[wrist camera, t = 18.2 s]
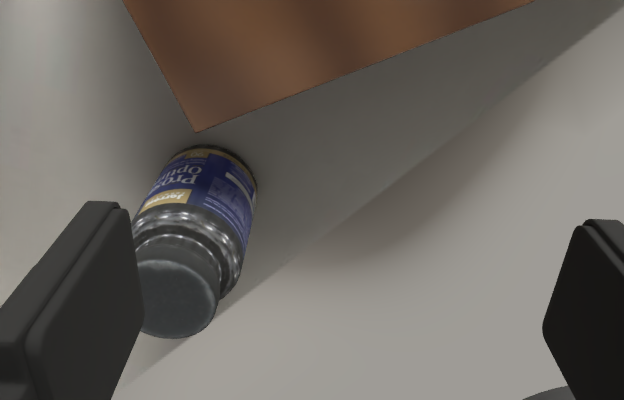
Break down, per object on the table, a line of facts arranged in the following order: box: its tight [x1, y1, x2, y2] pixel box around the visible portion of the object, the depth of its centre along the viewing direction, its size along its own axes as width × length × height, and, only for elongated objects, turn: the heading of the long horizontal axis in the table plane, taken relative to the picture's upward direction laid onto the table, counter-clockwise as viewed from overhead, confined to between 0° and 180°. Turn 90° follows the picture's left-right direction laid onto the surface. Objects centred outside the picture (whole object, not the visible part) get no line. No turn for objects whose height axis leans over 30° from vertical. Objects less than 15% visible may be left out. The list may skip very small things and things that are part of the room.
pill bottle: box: [131, 145, 257, 339], centre depth 28 cm, size 6×6×11 cm
